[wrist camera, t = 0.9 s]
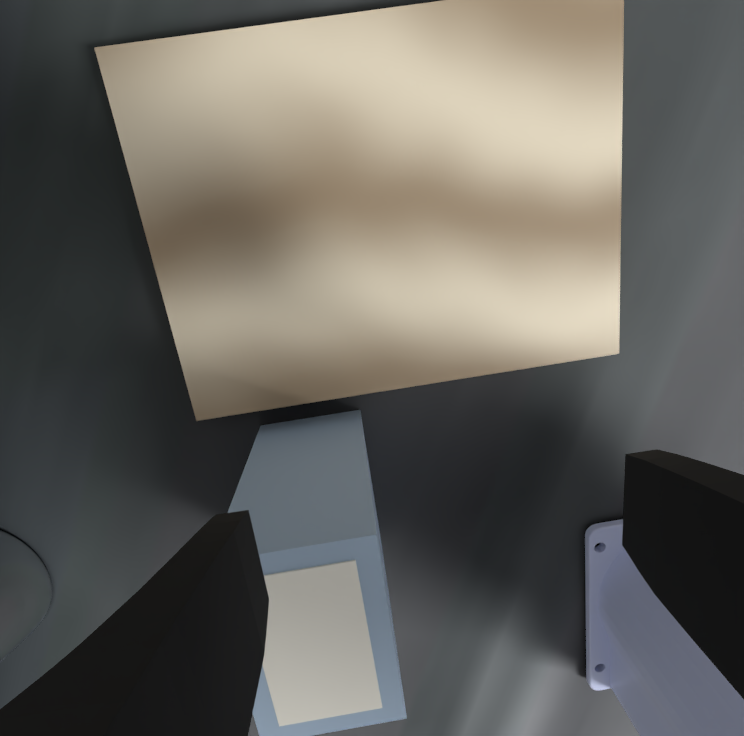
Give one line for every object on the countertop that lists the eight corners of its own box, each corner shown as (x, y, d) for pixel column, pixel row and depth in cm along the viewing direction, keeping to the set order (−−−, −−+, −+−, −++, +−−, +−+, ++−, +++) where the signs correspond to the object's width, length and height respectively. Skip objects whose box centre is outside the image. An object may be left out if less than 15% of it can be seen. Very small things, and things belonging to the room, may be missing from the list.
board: (604, 347, 19) (619, 353, 18) (203, 410, 18) (196, 420, 17) (606, -9, 15) (624, -24, 14) (109, 59, 15) (94, 47, 14)
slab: (380, 535, 21) (407, 720, 13) (289, 551, 20) (261, 746, 13) (359, 409, 19) (377, 535, 11) (260, 425, 19) (208, 564, 11)
